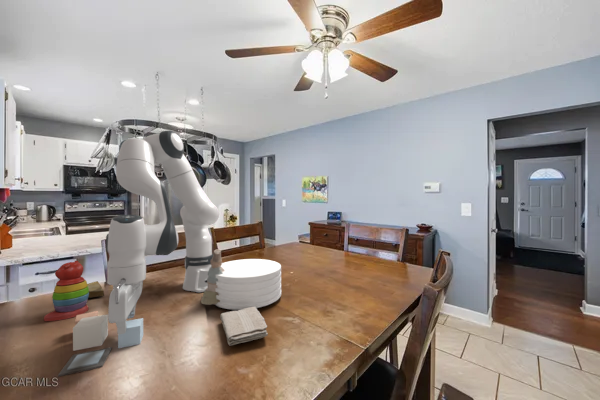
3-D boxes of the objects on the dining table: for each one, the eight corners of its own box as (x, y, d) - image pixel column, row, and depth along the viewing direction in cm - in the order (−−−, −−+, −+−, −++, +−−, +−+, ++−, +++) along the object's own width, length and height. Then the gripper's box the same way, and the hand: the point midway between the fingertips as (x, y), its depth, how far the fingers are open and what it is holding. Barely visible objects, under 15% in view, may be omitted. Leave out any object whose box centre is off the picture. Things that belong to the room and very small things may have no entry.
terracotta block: (98, 326, 79) (97, 310, 79) (98, 333, 75) (97, 316, 75) (76, 332, 76) (76, 315, 76) (75, 339, 72) (75, 321, 72)
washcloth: (228, 348, 68) (228, 336, 68) (218, 319, 84) (218, 310, 84) (270, 337, 73) (270, 326, 73) (254, 312, 89) (254, 303, 89)
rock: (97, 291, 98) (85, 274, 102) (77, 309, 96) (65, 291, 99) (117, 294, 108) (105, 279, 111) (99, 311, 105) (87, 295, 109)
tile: (111, 348, 67) (111, 345, 67) (102, 366, 60) (102, 363, 60) (73, 356, 64) (73, 353, 64) (58, 376, 56) (58, 373, 56)
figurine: (219, 306, 91) (218, 250, 91) (197, 305, 92) (196, 250, 92) (229, 297, 100) (228, 246, 100) (208, 296, 101) (208, 245, 101)
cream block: (108, 334, 74) (107, 314, 74) (101, 345, 69) (101, 323, 69) (82, 339, 72) (81, 318, 72) (73, 351, 66) (72, 328, 66)
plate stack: (200, 293, 106) (200, 266, 106) (258, 279, 124) (258, 256, 124) (230, 317, 85) (230, 282, 85) (295, 295, 103) (295, 267, 103)
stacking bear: (67, 307, 93) (67, 258, 93) (97, 306, 94) (96, 258, 94) (39, 321, 82) (39, 266, 82) (73, 320, 83) (72, 265, 83)
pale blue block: (143, 335, 74) (143, 318, 74) (140, 344, 69) (140, 325, 69) (122, 339, 72) (122, 321, 72) (118, 348, 67) (118, 329, 67)
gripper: (132, 284, 62) (131, 341, 62) (146, 264, 81) (146, 308, 81) (100, 287, 59) (99, 347, 59) (123, 266, 78) (122, 311, 78)
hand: (126, 324), depth 70 cm, fingers open, 8 cm apart
